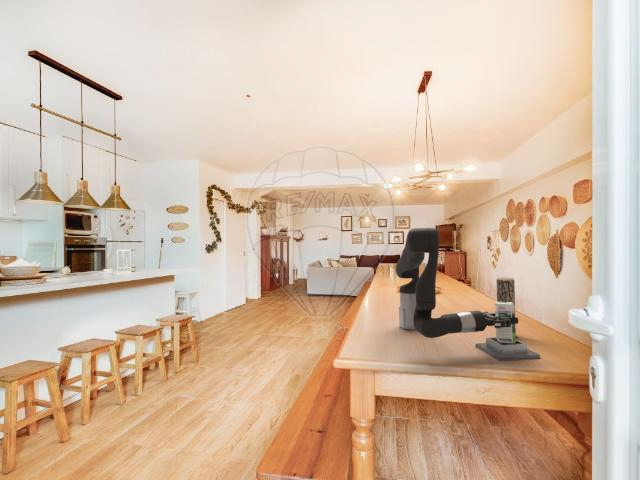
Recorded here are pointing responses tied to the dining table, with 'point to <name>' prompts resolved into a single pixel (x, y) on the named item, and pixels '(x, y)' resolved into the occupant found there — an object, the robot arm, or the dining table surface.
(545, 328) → the dining table surface
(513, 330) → the syrup box
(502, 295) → the bark pattern cylinder
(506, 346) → the duct collar
